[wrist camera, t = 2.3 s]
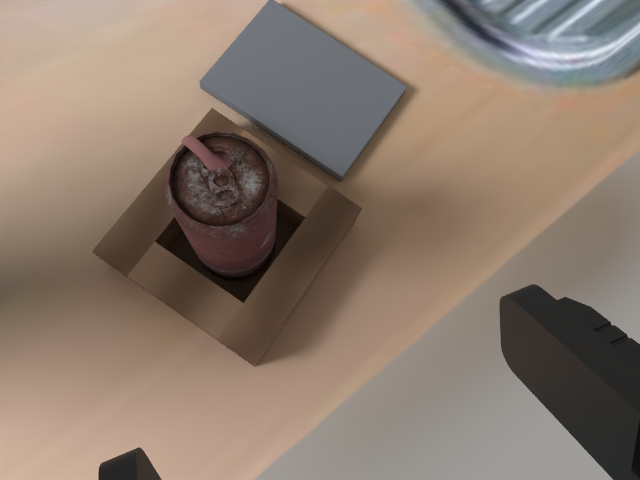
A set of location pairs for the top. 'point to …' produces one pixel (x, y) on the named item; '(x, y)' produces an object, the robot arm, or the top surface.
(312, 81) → the mat
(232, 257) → the can
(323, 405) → the top surface
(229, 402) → the top surface
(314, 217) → the box
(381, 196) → the top surface
